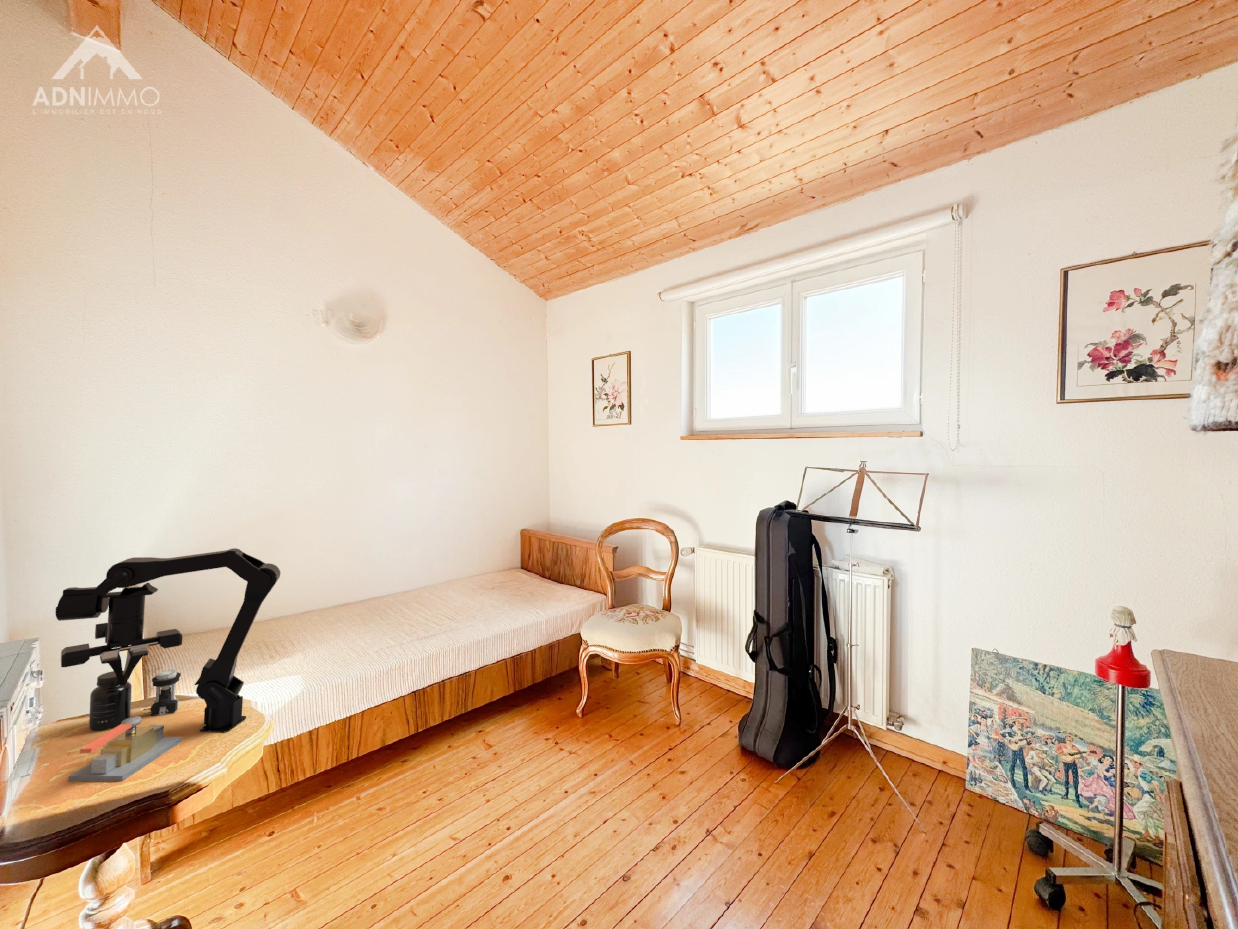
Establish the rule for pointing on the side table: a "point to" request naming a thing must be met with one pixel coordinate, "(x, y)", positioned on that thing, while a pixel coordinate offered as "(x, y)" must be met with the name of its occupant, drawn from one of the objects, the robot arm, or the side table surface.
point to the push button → (165, 693)
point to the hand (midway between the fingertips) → (122, 684)
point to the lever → (111, 734)
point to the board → (129, 767)
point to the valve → (126, 748)
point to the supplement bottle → (109, 703)
